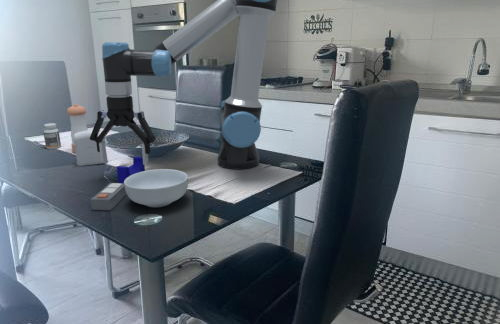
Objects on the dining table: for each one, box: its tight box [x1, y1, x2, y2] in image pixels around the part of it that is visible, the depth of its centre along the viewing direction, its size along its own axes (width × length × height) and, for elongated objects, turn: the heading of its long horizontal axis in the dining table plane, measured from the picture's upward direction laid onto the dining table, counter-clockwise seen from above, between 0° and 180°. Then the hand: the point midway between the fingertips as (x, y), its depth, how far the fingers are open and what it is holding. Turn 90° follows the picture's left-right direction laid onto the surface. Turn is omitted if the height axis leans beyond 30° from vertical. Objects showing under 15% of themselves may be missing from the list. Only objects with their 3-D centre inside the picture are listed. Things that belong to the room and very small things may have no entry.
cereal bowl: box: [124, 168, 189, 208], centre depth 104 cm, size 17×17×7 cm
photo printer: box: [74, 129, 109, 167], centre depth 136 cm, size 10×4×12 cm, turn 110°
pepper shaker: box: [66, 103, 89, 154], centre depth 151 cm, size 7×7×19 cm
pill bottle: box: [42, 122, 62, 150], centre depth 159 cm, size 6×6×10 cm
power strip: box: [90, 182, 127, 211], centre depth 106 cm, size 5×15×4 cm, turn 176°
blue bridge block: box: [116, 156, 146, 183], centre depth 122 cm, size 12×4×6 cm, turn 169°
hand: (124, 162), depth 121 cm, fingers open, 13 cm apart
